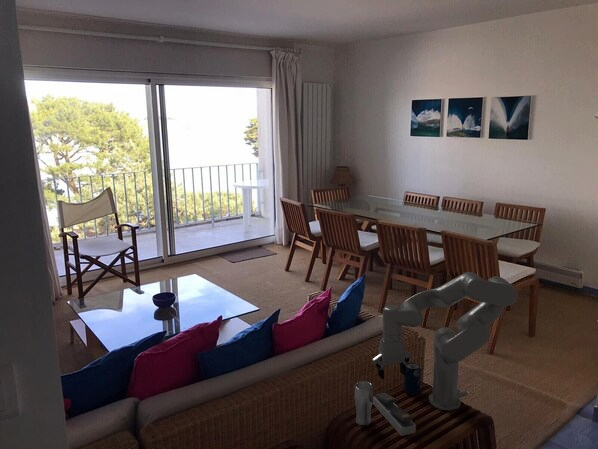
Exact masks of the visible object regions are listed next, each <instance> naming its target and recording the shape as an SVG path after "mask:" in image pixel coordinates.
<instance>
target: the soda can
mask: <svg viewBox="0 0 598 449" xmlns="http://www.w3.org/2000/svg"><path fill="white" fill-rule="evenodd" d="M421 374H422V371H421V368H420V365H419V364H418V363H417V362H408V363H407V365H406V372H405V375H403V390H404V392H405V393H406V394H408V395H409V396H416V395H418V394H419V393H420V391H421V382H422V381H421V380H422V379H421V376H422V375H421Z"/></svg>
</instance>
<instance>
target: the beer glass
mask: <svg viewBox="0 0 598 449" xmlns="http://www.w3.org/2000/svg"><path fill="white" fill-rule="evenodd" d="M373 397H374V390H373V384H372V383H371V382H370V381H365V380H361V381H358V382H356V383H355V384H354V404H355V409H356V417H355V423H356V424H357V425H358V426H361V425H367V426H369V424H370V425H372V414H371V411H372V406H373Z"/></svg>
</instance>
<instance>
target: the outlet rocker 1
mask: <svg viewBox="0 0 598 449" xmlns="http://www.w3.org/2000/svg"><path fill="white" fill-rule="evenodd" d="M375 396H376V398H378V399H380V400H382V401H383V402H385V403H387V404H390V403H395V404H396V403H397V400H398V399H397V398H395V397H394V396H392V395H390V394H388V393H386V392H381V393H376V394H375Z"/></svg>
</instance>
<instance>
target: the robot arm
mask: <svg viewBox="0 0 598 449" xmlns="http://www.w3.org/2000/svg"><path fill="white" fill-rule="evenodd" d="M518 297H519V293H518V290H517V289H516V287H514V285H513V284H511V283H510V282H509V281H508V280H507V279H505V278H504V277H501V276H499V275H495V276H491V277H490V278H488V279H487V280H486V279H483V278H482V277H481V276H479V275H478V274H477V273H475V272H473V271H466V272H463V273H462V274H460V275H458V276H456V277H455V278H453V279H451V280H449V281H447V282H445V283H444V284H443V285H440V286H439V287H436V288H431V289H429V290H424V291H421V292H418V293H416V294H414V295H413V296H410V297H409V298H407V299H405V300H404V301H403V302H402V303H401V304H400V306H399V305H395V304H388V305H385V306H384V307H383V309H382V338H380V339H379V340H380V341H379V346H378V347H379V348H378V355H377V356H374V358H372V359H371V361H372V364H374V366H375V367H376V368H377V374H378V375H377V376H379V378H380V379H381V380H384V379H385V370H384V368H385V366H389V365H393V364H399V372H400V373H401V374H402V375H403V376H404V375H405V372H406V365H407V363H409V362H410V359H411V357H412V355H413V354H412V353H411V352H409V351H407V350H406V349H405V342H404V338H403V335H405V331H403V330H402V327H409V328H417V327H420V326H421V325H422V323H423V321H424V316H423V314H422V311H425V310H427V309H429V308H432V307H433V308H434V307H440V308H450V307H452V306H454V305H455V304H457V303H458V302H460V301H463V300H464V299H466V298H469V299H471V300H473V301H477V302H479V303H478V304H477V305H476V306H474V307H472V309H470V310H469V311H468V312H466V313H464V314H463V315H461V316H460V317H459V318H458V319H457V322H456V327H457V330H458V333H457V332H456V331H455V330H454V329H452V328H450V327H441V328H438V329H437V330H436V331H435V332H434V335H433V337H432V338H433V339H432V342H433V344H432V345H433V373H432V374H433V379H432V393H430V394H429V396H428V403H429V404H430V405H431V406H432V407H434V408H435V409H438V410H442V411H454V410H458V409H460V407H461V404H462V402H461V398H462V397H463V398H464V397H467V396H468V393H467V391H466V390H464V391H461V390H460V389H458V382H459V380H458V378H459V362H461V361H463V360H465V359H466V358H468V357H469V356H471V355H472V354H474V353H475V352H476V351H478V350H479V349H481V348H482V347H483V346H484V345H485V344H486V343H487V342H488V340H489V338H490V331H489V328H488V327H489V326H490V325H491V324H492V323H494V322H495V321H496V320H497V319H499V317H500V316H501V315H502V313H503V311H504V309H505V307H510V306H511V305H514V304H516V302H517V301H518ZM378 361H379V362H378Z"/></svg>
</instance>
